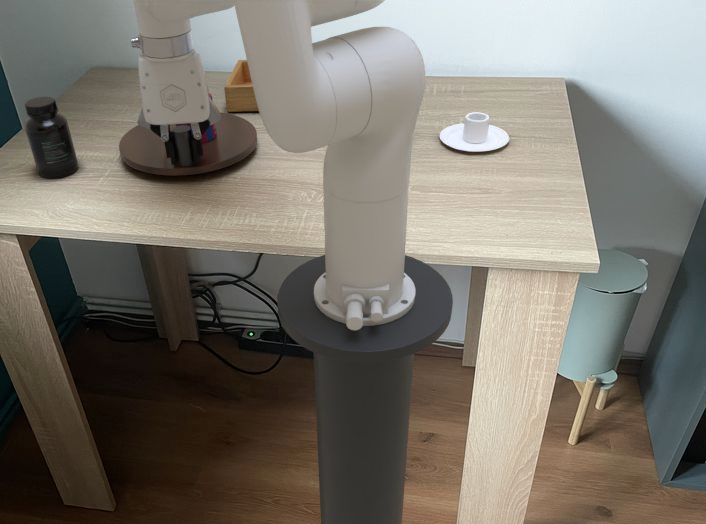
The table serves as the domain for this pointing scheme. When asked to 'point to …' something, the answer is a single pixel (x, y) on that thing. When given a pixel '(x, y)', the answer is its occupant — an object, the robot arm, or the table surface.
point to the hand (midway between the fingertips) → (186, 159)
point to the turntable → (189, 148)
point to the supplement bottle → (49, 138)
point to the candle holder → (474, 134)
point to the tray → (240, 89)
